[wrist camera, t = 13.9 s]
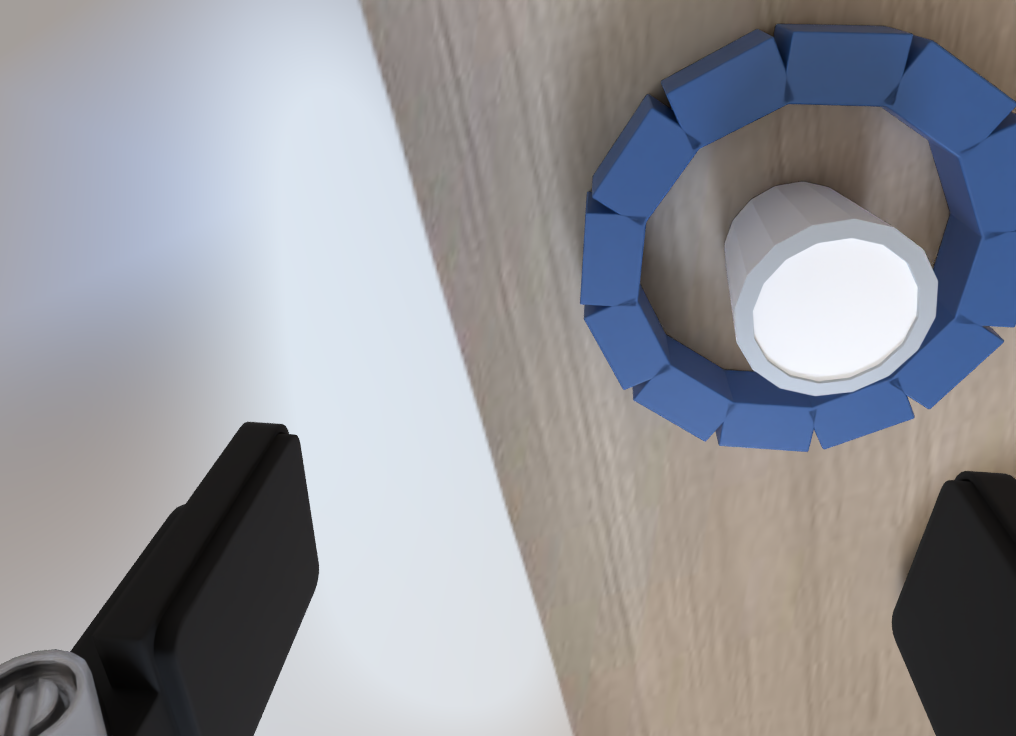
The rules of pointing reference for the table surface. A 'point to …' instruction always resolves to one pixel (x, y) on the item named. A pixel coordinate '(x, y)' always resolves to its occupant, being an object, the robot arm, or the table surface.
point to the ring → (744, 99)
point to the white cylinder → (825, 290)
